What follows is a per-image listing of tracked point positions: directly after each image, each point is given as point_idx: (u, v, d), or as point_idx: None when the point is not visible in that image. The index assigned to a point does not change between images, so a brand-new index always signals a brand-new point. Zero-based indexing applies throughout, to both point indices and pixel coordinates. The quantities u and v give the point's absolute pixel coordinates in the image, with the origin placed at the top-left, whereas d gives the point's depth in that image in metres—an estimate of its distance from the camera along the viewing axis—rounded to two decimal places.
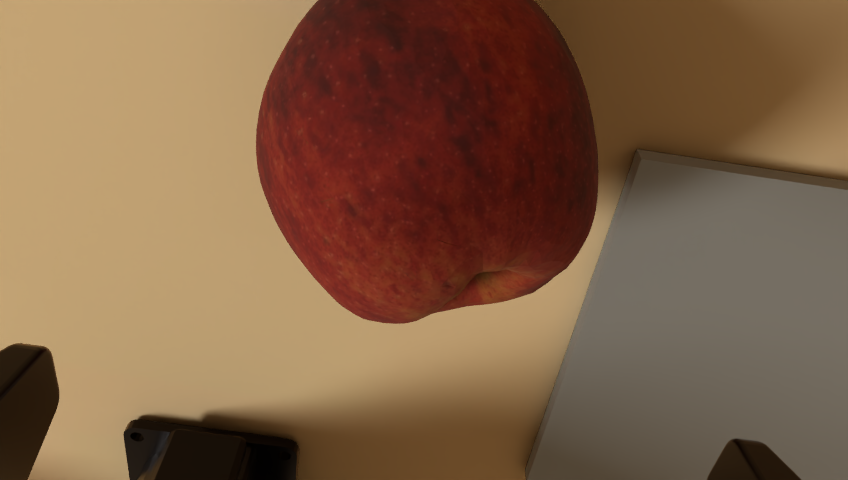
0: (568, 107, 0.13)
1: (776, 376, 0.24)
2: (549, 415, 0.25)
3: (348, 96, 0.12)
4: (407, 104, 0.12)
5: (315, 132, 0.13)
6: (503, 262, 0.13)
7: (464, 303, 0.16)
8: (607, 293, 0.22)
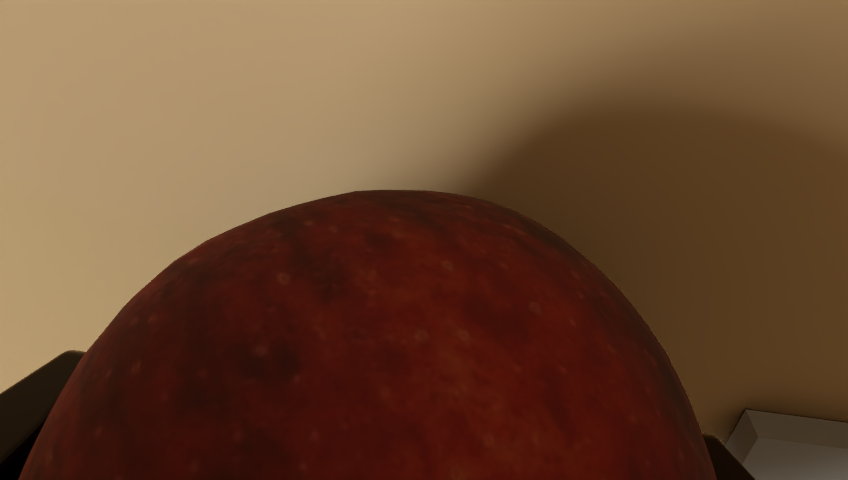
0: None
1: None
2: None
3: None
4: None
5: None
6: None
7: None
8: None
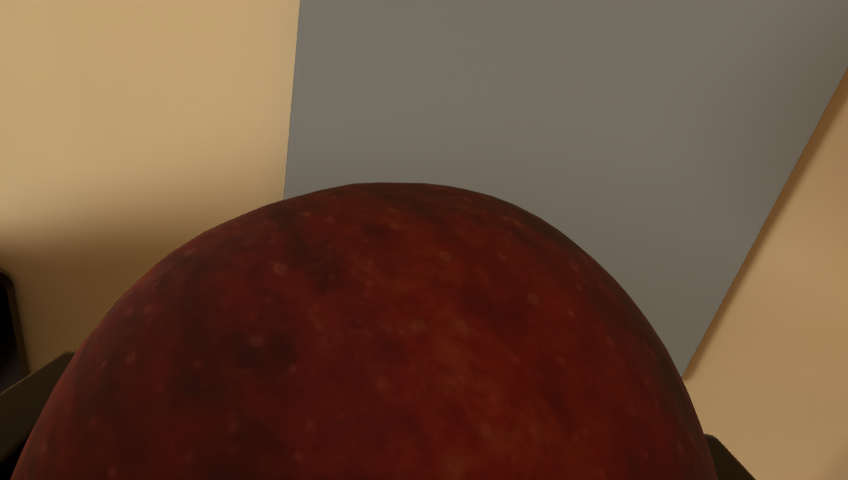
0: None
1: (524, 187, 0.21)
2: None
3: None
4: None
5: None
6: None
7: None
8: (310, 67, 0.19)
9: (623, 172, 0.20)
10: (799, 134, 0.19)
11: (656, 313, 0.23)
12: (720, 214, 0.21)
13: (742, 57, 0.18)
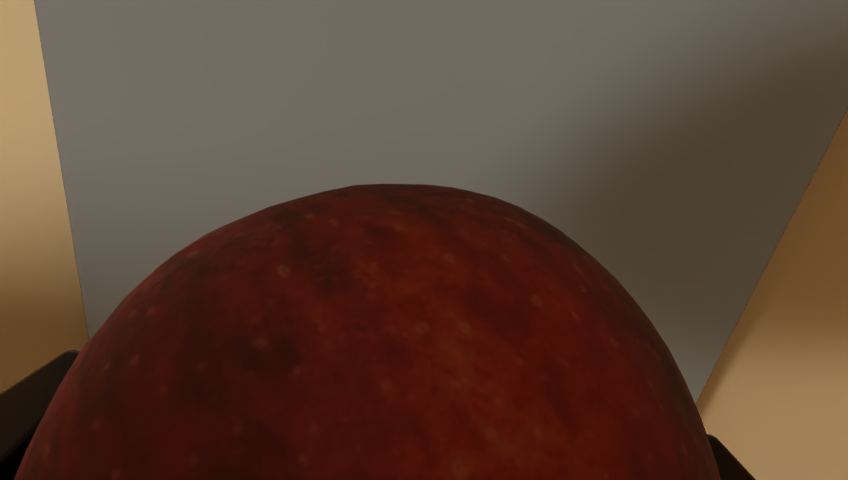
0: None
1: None
2: (82, 285, 0.15)
3: None
4: None
5: None
6: None
7: None
8: (62, 31, 0.12)
9: (559, 177, 0.13)
10: (827, 111, 0.12)
11: None
12: (710, 235, 0.14)
13: None
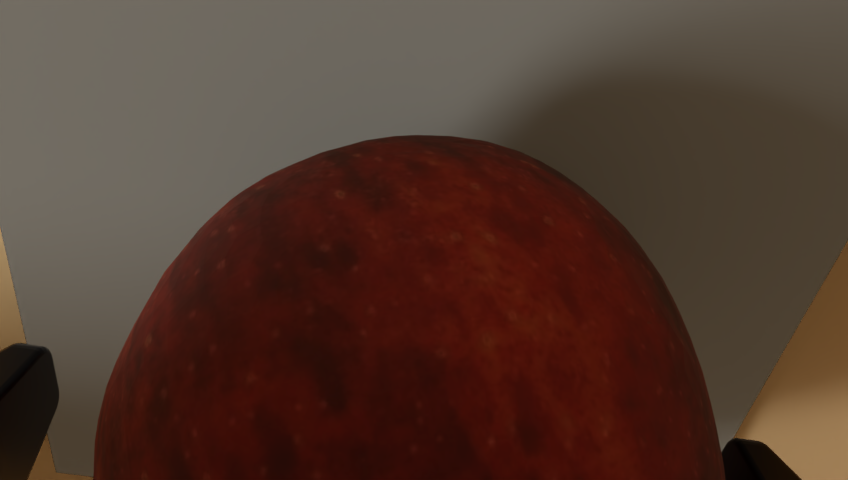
0: (693, 469, 0.07)
1: None
2: None
3: None
4: None
5: None
6: None
7: None
8: None
9: None
10: None
11: None
12: (733, 297, 0.12)
13: (763, 30, 0.10)
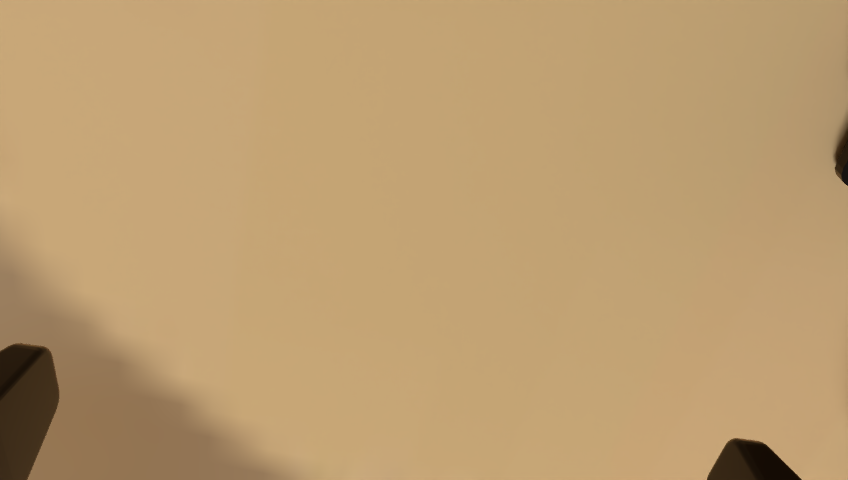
0: None
1: None
2: None
3: None
4: None
5: None
6: None
7: None
8: None
9: None
10: None
11: None
12: None
13: None
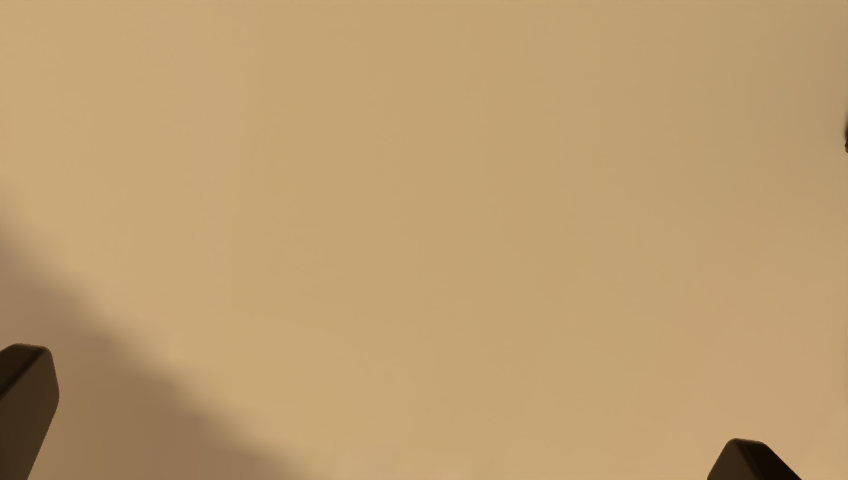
0: None
1: None
2: None
3: None
4: None
5: None
6: None
7: None
8: None
9: None
10: None
11: None
12: None
13: None
